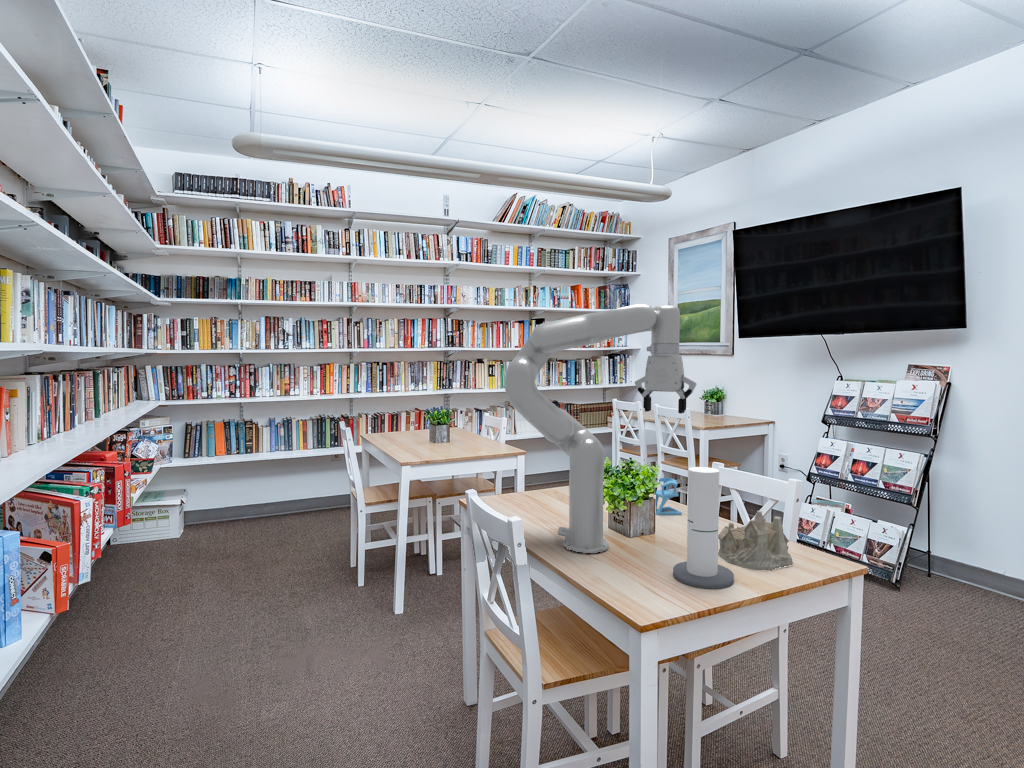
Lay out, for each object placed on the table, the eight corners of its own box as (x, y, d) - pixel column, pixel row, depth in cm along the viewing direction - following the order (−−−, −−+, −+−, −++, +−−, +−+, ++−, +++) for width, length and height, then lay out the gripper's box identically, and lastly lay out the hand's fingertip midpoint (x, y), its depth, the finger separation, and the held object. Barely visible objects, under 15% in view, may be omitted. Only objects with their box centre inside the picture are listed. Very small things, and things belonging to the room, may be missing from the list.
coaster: (664, 580, 140) (665, 574, 140) (683, 563, 151) (683, 557, 151) (724, 593, 132) (724, 587, 132) (739, 574, 143) (740, 568, 143)
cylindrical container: (705, 564, 146) (706, 466, 145) (723, 574, 139) (725, 471, 138) (680, 567, 144) (682, 467, 143) (698, 578, 137) (700, 473, 136)
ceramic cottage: (802, 566, 149) (799, 507, 149) (747, 575, 144) (744, 515, 144) (761, 550, 164) (758, 497, 164) (710, 558, 159) (707, 503, 159)
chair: (648, 511, 202) (648, 477, 201) (669, 508, 204) (669, 475, 204) (660, 517, 194) (660, 481, 194) (682, 514, 197) (682, 479, 196)
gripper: (630, 350, 163) (629, 411, 164) (692, 350, 153) (691, 415, 154) (640, 350, 169) (640, 409, 170) (700, 350, 159) (699, 412, 160)
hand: (664, 412), depth 162 cm, fingers open, 9 cm apart
